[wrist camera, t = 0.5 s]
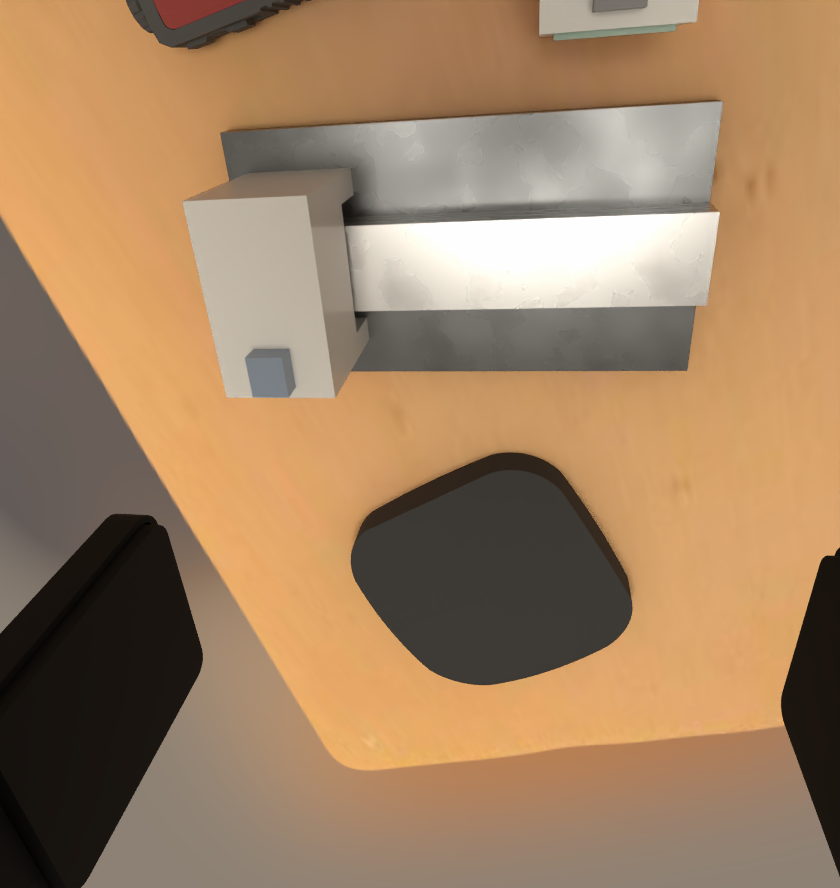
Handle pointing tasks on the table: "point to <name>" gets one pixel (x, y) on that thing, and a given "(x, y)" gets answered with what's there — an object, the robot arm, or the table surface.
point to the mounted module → (278, 282)
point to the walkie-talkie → (201, 18)
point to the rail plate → (507, 182)
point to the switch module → (612, 17)
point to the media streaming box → (493, 572)
